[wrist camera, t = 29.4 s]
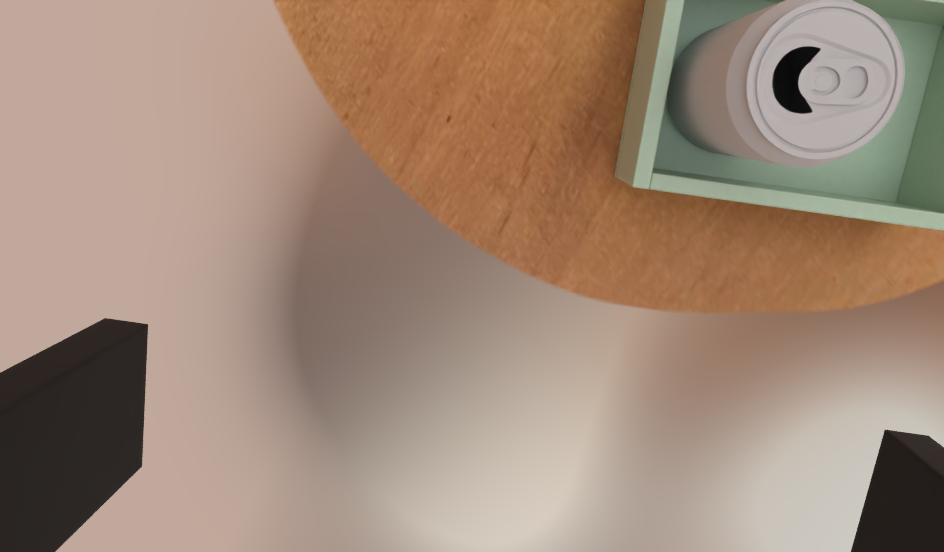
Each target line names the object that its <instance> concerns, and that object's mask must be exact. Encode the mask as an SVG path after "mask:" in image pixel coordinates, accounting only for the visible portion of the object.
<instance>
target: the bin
mask: <svg viewBox="0 0 944 552" xmlns="http://www.w3.org/2000/svg"><path fill="white" fill-rule="evenodd" d="M783 1H785V0H645V5H644V11H643V17H642V22H641V28H640V33H639V39H638V45H637V50H636V56H635V62H634V67H633V73H632V78H631V84H630V90H629V95H628V101H627V107H626V112H625V118H624V123H623V129H622V135H621V140H620V146H619V151H618V157H617V163H616V168H615V174H614V177H616V178H617V179H619V180H621V181H623V182H625V183H626V184H628V185H630V186H632V187H635V188H642V189H650V190H656V191H663V192H670V193H678V194H685V195H692V196H699V197H706V198H713V199H720V200H727V201H734V202H741V203H749V204H756V205H763V206H770V207H777V208H784V209H791V210H798V211H805V212H812V213H820V214H827V215H834V216H841V217H848V218H855V219H862V220H869V221H876V222H883V223H890V224H898V225H905V226H912V227H919V228H926V229H933V230H940V231H944V0H852V1H854V2H856V3H859V4H861V5H864V6H866V7H868V8H870V9H871V10H873V11H874V12H876V13H877V14H878V15H880V16H881V17H882V18H883V19H884V20H885V21H886V22H887V23H888V25H889V26H890V27H891V29H892V30H893V32H894V33H895V35H896V37H897V39H898V41H899V43H900V46H901V49H902V53H903V57H904V65H905V77H904V86H903V90H902V94H901V98H900V100H899V103H898V105H897V108H896V110H895V112H894V113H893V115H892V117H891V118H890V120H889V121H888V123H887V124H886V125H885V126H884V128H883V129H882V130H881V131H880V132H879V133H878V134H877V135H876V136H875V137H874V138H873V139H872V140H870V141H869V142H868V143H866V144H865V145H863V146H862V147H860V148H858V149H857V150H855V151H853V152H852V153H850V154H849V155H847V156H845V157H843V158H841V159H839V160H837V161H834V162H831V163H828V164H825V165H820V166H815V167H791V166H785V165H779V164H773V163H768V162H762V161H757V160H751V159H745V158H740V157H734V156H729V155H723V154H717V153H712V152H709V151H706V150H703V149H701V148H699V147H697V146H695V145H694V144H692V143H691V142H690V141H689V140H687V139H686V138H685V137H684V136H683V135H682V133H681V132H680V131H679V130H678V128H677V127H676V125H675V123H674V121H673V119H672V117H671V114H670V111H669V106H668V98H667V91H668V86H669V81H670V75H671V71H672V68H673V66H674V64H675V62H676V61H677V59H678V57H679V56H680V54H681V53H682V52H683V50H684V49H685V48H686V47H687V46H688V45H689V44H690V43H691V42H692V41H693V40H694V39H695V38H697V37H698V36H700V35H701V34H703V33H705V32H707V31H709V30H711V29H713V28H716V27H719V26H721V25H724V24H726V23H729V22H731V21H734V20H736V19H739V18H742V17H744V16H747V15H749V14H752V13H754V12H757V11H760V10H762V9H765V8H767V7H770V6H772V5H775V4H777V3H780V2H783Z"/></svg>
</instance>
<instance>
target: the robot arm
mask: <svg viewBox="0 0 944 552" xmlns="http://www.w3.org/2000/svg"><path fill="white" fill-rule="evenodd" d="M147 335H148V324H142V323H135V322H128V321H120V320H114V319H106V318H105V319H103V320H101V321H99V322H97V323H95V324H94V325H92V326H89V327H88V328H86V329H84V330H82V331H80V332H78V333H76V334H74V335H72V336H70V337H68V338H66V339H64V340H63V341H61V342H59V343H57V344H55V345H53V346H51V347H49V348H47V349H45V350H43V351H41V352H39V353H37V354H36V355H34V356H32V357H30V358H28V359H26V360H24V361H22V362H20V363H18V364H16V365H14V366H12V367H10V368H9V369H7V370H5V371H3V372H1V373H0V552H55V551H56V550H57V549H58V548H59V547H60V546H61V545H62V544H63V543H64V542H65V541H66V540H67V539H68V538H69V537H70V536H72V535H73V533H74V532H76V530H78V529H79V528H80V527H81V526H82V525H83V524H84V523H85V522H86V521H87V520H88V519H89V518H90V517H91V516H92V515H93V514H94V513H95V512H96V511H97V510H98V509H99V508H100V507H101V506H102V505H103V504H104V503H105V502H106V501H107V500H108V499H109V498H110V497H111V496H112V495H113V494H114V493H115V492H116V491H117V490H118V489H119V488H120V487H121V486H122V485H123V484H124V483H125V482H126V481H127V480H128V479H129V478H130V477H131V476H132V475H133V474H134V473H136V471H138V469H140V468H141V467H142V451H143V428H144V404H145V382H146V359H147V358H146V357H147ZM851 552H944V447H942V446H941V445H940V444H938V443H937V442H936V441H934V440H933V439H932V438H930V437H929V436H925V435H918V434H911V433H904V432H897V431H890V430H885V431H884V435H883V439H882V442H881V446H880V449H879V453H878V457H877V460H876V464H875V467H874V471H873V474H872V478H871V482H870V486H869V489H868V492H867V496H866V500H865V503H864V507H863V511H862V514H861V518H860V521H859V525H858V528H857V532H856V536H855V539H854V543H853V546H852V550H851Z"/></svg>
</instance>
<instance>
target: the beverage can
mask: <svg viewBox="0 0 944 552" xmlns="http://www.w3.org/2000/svg"><path fill="white" fill-rule="evenodd" d="M904 77H905V65H904V57H903V53H902V49H901V46H900V43H899V41H898V39H897V37H896V35H895V33H894V32H893V30H892V29H891V27H890V26H889V25H888V23H887V22H886V21H885V20H884V19H883V18H882V17H881V16H880V15H878V14H877V13H876V12H874V11H873V10H871V9H870V8H868V7H866V6H864V5H861V4H859V3H856V2H854V1H852V0H785V1H783V2H780V3H777V4H775V5H772V6H770V7H767V8H765V9H762V10H760V11H757V12H754V13H752V14H749V15H747V16H744V17H742V18H739V19H736V20H734V21H731V22H729V23H726V24H724V25H721V26H719V27H716V28H713V29H711V30H709V31H707V32H705V33H703V34H701V35H700V36H698V37H697V38H695V39H694V40H693V41H692V42H691V43H690V44H689V45H688V46H687V47H686V48H685V49H684V50H683V52H682V53H681V54H680V56H679V57H678V59H677V61H676V62H675V64H674V66H673V68H672V71H671V75H670V81H669V86H668V91H667V98H668V106H669V111H670V114H671V117H672V119H673V121H674V123H675V125H676V127H677V128H678V130H679V131H680V132H681V133H682V135H683V136H684V137H685V138H686V139H687V140H689V141H690V142H691V143H692V144H694V145H695V146H697V147H699V148H701V149H703V150H706V151H709V152H712V153H717V154H723V155H729V156H734V157H740V158H745V159H751V160H757V161H762V162H768V163H773V164H779V165H785V166H791V167H815V166H820V165H825V164H828V163H831V162H834V161H837V160H839V159H841V158H843V157H845V156H847V155H849V154H850V153H852V152H853V151H855V150H857V149H858V148H860V147H862V146H863V145H865V144H866V143H868V142H869V141H870V140H872V139H873V138H874V137H875V136H876V135H877V134H878V133H879V132H880V131H881V130H882V129H883V128H884V126H885V125H886V124H887V123H888V121H889V120H890V118H891V117H892V115H893V113H894V112H895V110H896V108H897V105H898V103H899V100H900V98H901V94H902V90H903V86H904Z"/></svg>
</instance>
